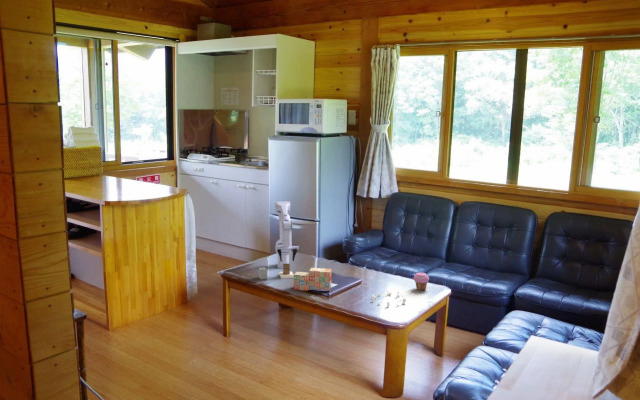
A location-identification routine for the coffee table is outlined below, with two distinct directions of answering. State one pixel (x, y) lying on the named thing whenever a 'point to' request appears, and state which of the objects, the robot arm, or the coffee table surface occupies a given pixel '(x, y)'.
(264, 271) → the grey rectangular block
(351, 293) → the coffee table surface
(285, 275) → the cream slab
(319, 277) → the stack of blocks
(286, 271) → the walnut block
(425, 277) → the cupcake
